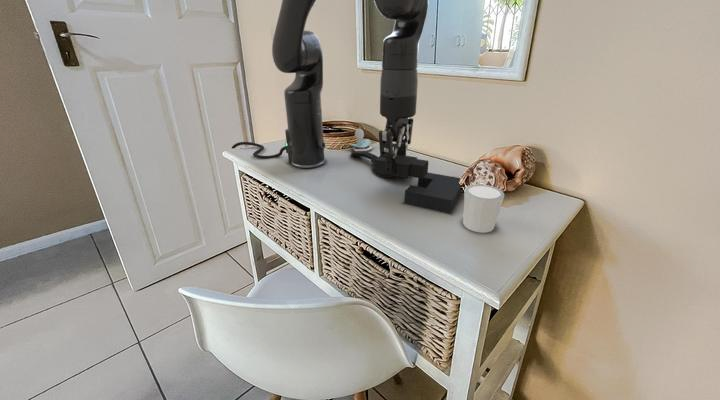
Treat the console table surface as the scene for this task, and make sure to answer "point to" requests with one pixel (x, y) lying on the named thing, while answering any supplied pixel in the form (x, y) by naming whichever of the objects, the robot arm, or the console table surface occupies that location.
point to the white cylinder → (481, 207)
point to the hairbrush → (372, 157)
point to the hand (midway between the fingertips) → (395, 168)
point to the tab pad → (404, 166)
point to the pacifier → (361, 142)
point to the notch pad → (434, 192)
